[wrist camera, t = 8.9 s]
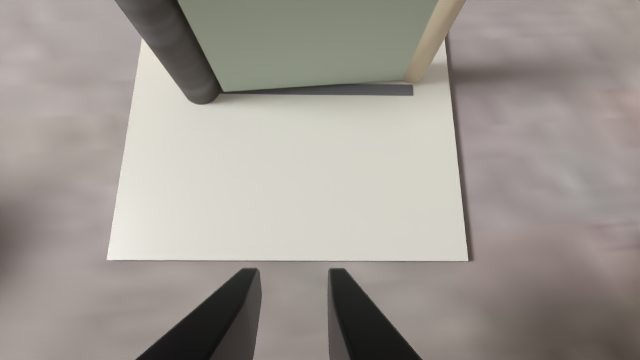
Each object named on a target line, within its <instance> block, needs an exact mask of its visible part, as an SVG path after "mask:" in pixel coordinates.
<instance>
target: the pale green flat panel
mask: <svg viewBox="0 0 640 360" xmlns="http://www.w3.org/2000/svg"><path fill="white" fill-rule="evenodd" d="M177 1H178V3H179V5H180V6H181V8H182V10H183V12H184V14H185V16H186V18H187V20H188V22H189V24H190V26H191V28H192V30H193V32H194V34H195V36H196V38H197V40H198V42H199V44H200V46H201V48H202V50H203V52H204V54H205V56H206V58H207V60H208V62H209V64H210V66H211V68H212V70H213V72H214V74H215V75H216V77H217V79H218V81H219V83H220V85H221V87H222V89H223V91H224V92H229V91H244V90H259V89H274V88H288V87H303V86H318V85H333V84H348V83H363V82H378V81H392V80H403V81H405V82H407V83H417V82H419V81H420V80H421V79H422V78H423V77H424V75H425V73H426V71H427V69H428V68H429V66H430V64H431V62H432V60H433V59H434V57H435V55H436V53H437V51H438V50H439V48H440V46H441V44H442V42H443V41H444V39H445V37H446V35H447V33H448V32H449V30H450V28H451V26H452V24H453V23H454V21H455V19H456V17H457V15H458V14H459V12H460V10H461V8H462V6H463V5H464V3H465V1H466V0H177Z"/></svg>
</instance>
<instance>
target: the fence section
mask: <svg viewBox="0 0 640 360" xmlns="http://www.w3.org/2000/svg"><path fill="white" fill-rule="evenodd" d="M115 1H116V3H117V4H118V5H119V7H120V8H121V10H122V11H123V12H124V14H125V15H126V16H127V18H128V19H129V20H130V22H131V23H132V24H133V26H134V27H135V28H136V30H137V31H138V33H139V34H140V35H141V37H142V38H143V39H144V41H145V42H146V43H147V45H148V46H149V47H150V49H151V50H152V51H153V53H154V54H155V56H156V57H157V58H158V60H159V61H160V62H161V64H162V65H163V66H164V68H165V69H166V70H167V72H168V73H169V75H170V76H171V77H172V79H173V80H174V81H175V83H176V84H177V85H178V87H179V88H180V89H181V91H182V92H183V93H184V95H185V96H186V98H187V99H188V100H189V101H190V102H192V103H194V104H198V105H204V104H208V103H210V102H212V101H214V100H215V99H216V98H217V97H218V95H219V92H220V83H219V81H218V79H217V77H216V75H215V74H214V72H213V70H212V68H211V66H210V64H209V62H208V60H207V58H206V56H205V54H204V52H203V50H202V48H201V46H200V44H199V42H198V40H197V38H196V36H195V34H194V32H193V30H192V28H191V26H190V24H189V22H188V20H187V18H186V16H185V14H184V12H183V10H182V8H181V6H180V5H179V3H178V1H177V0H115Z"/></svg>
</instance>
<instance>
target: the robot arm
mask: <svg viewBox="0 0 640 360" xmlns="http://www.w3.org/2000/svg"><path fill="white" fill-rule="evenodd" d="M261 299H262V291H261V282H260V272H259V269H258V268H242V269H241V270H240V271H238V272H237V273H236V274H235V275H234V276H233V277H231V278H230V279H229V280H228V281H227V282H226V283H224V284H223V285H222V286H221V287H220V288H219V289H217V290H216V291H215V292H214V293H213V294H212V295H210V296H209V297H208V298H207V299H206V300H204V301H203V302H202V303H201V304H200V305H199V306H197V307H196V308H195V309H194V310H193V311H192V312H190V313H189V314H188V315H187V316H186V317H185V318H183V319H182V320H181V321H180V322H179V323H178V324H176V325H175V326H174V327H173V328H172V329H171V330H169V331H168V332H167V333H166V334H165V335H164V336H162V337H161V338H160V339H159V340H158V341H157V342H155V343H154V344H153V345H152V346H151V347H150V348H148V349H147V350H146V351H145V352H144V353H143V354H141V355H140V356H139V357H138V358H137V359H136V360H253V356H254V350H255V344H256V336H257V329H258V322H259V314H260V307H261ZM328 339H329V357H330V360H422V359H421V358H420V356H419V355H418V354H417V353H416V352H415V351H414V349H413V348H412V347H411V346H410V345H409V344H408V342H407V341H406V340H405V339H404V338H403V336H402V335H401V334H400V333H399V332H398V331H397V329H396V328H395V327H394V326H393V325H392V324H391V322H390V321H389V320H388V319H387V318H386V316H385V315H384V314H383V313H382V312H381V311H380V309H379V308H378V307H377V306H376V305H375V304H374V302H373V301H372V300H371V299H370V298H369V296H368V295H367V294H366V293H365V292H364V291H363V289H362V288H361V287H360V286H359V285H358V284H357V282H356V281H355V280H354V279H353V278H352V276H351V275H350V274H349V273H348V272H347V271H346V270H345V269H344V268H330V269H329V270H328Z"/></svg>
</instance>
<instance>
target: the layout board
mask: <svg viewBox="0 0 640 360" xmlns="http://www.w3.org/2000/svg"><path fill="white" fill-rule="evenodd" d="M107 260H207V261H468V253H467V244H466V235H465V225H464V216H463V207H462V197H461V188H460V179H459V169H458V160H457V151H456V141H455V132H454V123H453V113H452V104H451V95H450V85H449V76H448V67H447V57H446V48H445V39H444V41H443V42H442V44H441V46H440V48H439V50H438V51H437V53H436V55H435V57H434V59H433V60H432V62H431V64H430V66H429V68H428V69H427V71H426V73H425V75H424V77H423V78H422V79H421V80H420V81H419V82H417V83H407V82H405V81H403V80H392V81H378V82H363V83H348V84H333V85H318V86H303V87H288V88H274V89H259V90H244V91H229V92H224V91H223V89H222V87H221V85H220V92H219V95H218V97H217V98H216V99H215V100H214V101H212V102H210V103H208V104H204V105H198V104H194V103H192V102H190V101H189V100H188V99H187V98H186V96H185V95H184V93H183V92H182V91H181V89H180V88H179V87H178V85H177V84H176V83H175V81H174V80H173V79H172V77H171V76H170V75H169V73H168V72H167V70H166V69H165V68H164V66H163V65H162V64H161V62H160V61H159V60H158V58H157V57H156V56H155V54H154V53H153V51H152V50H151V49H150V47H149V46H148V45H147V43H146V42H145V41H144V39H143V38H142V43H141V49H140V55H139V61H138V68H137V74H136V80H135V86H134V93H133V99H132V105H131V111H130V118H129V124H128V130H127V136H126V143H125V149H124V155H123V161H122V168H121V174H120V180H119V186H118V193H117V199H116V205H115V211H114V218H113V224H112V230H111V236H110V243H109V249H108V255H107Z"/></svg>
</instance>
